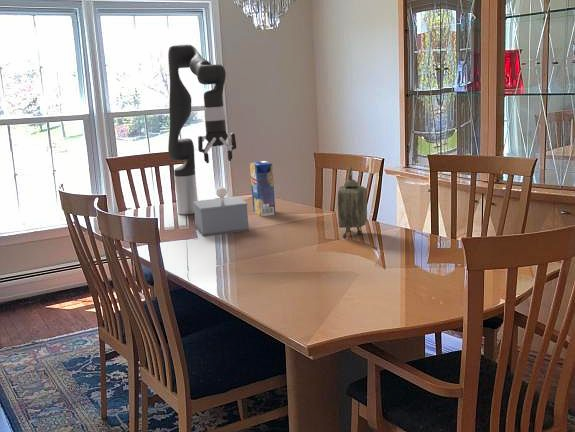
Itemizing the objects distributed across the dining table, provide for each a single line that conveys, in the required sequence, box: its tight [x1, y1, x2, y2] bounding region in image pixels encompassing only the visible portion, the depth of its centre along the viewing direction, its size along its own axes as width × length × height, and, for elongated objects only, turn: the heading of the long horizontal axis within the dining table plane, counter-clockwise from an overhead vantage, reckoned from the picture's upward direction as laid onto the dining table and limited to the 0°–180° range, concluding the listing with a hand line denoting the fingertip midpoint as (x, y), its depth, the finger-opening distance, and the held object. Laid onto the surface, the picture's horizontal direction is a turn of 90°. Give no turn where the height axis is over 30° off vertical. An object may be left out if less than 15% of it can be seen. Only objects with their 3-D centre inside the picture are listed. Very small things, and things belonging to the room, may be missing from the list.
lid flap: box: [193, 186, 248, 211], centre depth 256 cm, size 16×18×8 cm
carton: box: [194, 204, 250, 237], centre depth 258 cm, size 16×18×10 cm
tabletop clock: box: [337, 166, 368, 239], centre depth 235 cm, size 14×9×25 cm, turn 168°
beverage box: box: [249, 160, 276, 217], centre depth 281 cm, size 7×11×22 cm, turn 18°
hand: (218, 161), depth 248 cm, fingers open, 8 cm apart
